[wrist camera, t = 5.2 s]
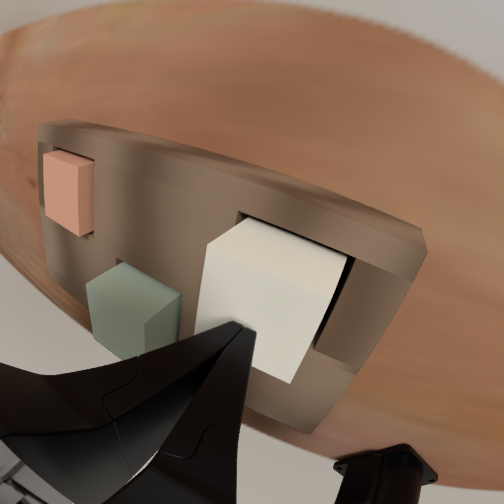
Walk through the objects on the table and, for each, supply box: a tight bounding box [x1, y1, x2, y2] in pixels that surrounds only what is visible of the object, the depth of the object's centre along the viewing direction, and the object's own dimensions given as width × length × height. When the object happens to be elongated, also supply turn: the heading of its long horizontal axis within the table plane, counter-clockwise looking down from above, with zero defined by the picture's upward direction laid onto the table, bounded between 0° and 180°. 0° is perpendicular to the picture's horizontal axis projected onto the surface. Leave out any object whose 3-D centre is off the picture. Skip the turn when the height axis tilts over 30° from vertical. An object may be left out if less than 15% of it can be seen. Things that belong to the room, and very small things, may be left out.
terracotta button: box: [43, 149, 95, 237], centre depth 16 cm, size 4×4×3 cm
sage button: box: [86, 262, 183, 360], centre depth 15 cm, size 4×4×3 cm
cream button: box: [194, 217, 348, 384], centre depth 11 cm, size 4×4×3 cm
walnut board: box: [38, 119, 428, 435], centre depth 16 cm, size 22×12×2 cm, turn 76°
